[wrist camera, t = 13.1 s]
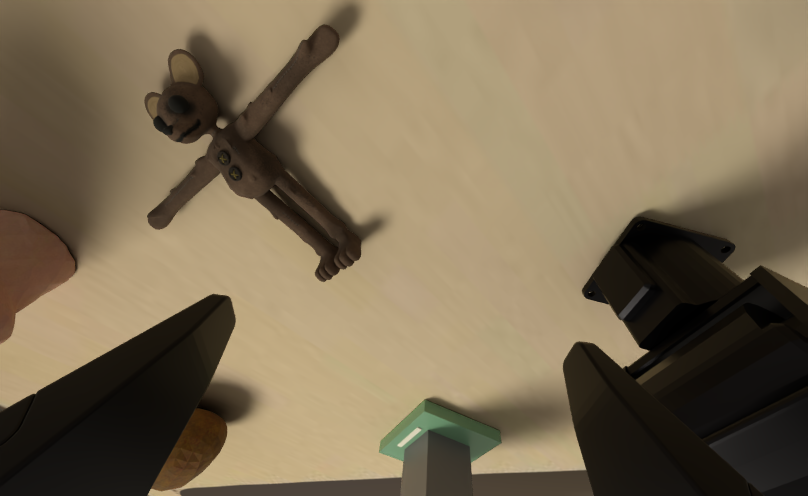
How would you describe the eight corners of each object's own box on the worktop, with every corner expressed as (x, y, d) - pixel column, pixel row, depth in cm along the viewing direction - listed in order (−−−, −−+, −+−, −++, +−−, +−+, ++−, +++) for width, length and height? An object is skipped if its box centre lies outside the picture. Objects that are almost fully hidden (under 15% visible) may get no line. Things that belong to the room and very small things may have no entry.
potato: (139, 405, 39) (78, 479, 32) (198, 374, 34) (141, 453, 27) (196, 438, 42) (151, 512, 35) (258, 414, 37) (219, 494, 31)
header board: (424, 399, 32) (423, 425, 30) (499, 430, 34) (503, 457, 32) (380, 441, 37) (376, 466, 35) (447, 466, 39) (447, 491, 37)
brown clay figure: (258, 329, 25) (44, 194, 18) (277, 290, 28) (103, 164, 22) (456, 203, 18) (222, -92, 11) (450, 170, 21) (268, -70, 15)
